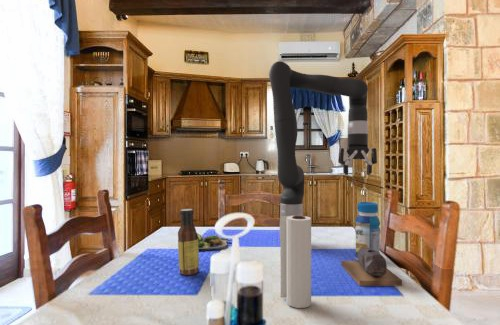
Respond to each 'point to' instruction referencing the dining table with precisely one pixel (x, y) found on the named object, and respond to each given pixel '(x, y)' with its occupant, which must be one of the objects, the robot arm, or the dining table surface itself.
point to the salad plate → (211, 242)
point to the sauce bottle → (188, 244)
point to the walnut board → (370, 276)
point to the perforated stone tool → (372, 261)
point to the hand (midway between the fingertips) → (357, 174)
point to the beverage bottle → (367, 227)
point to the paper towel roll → (296, 260)
